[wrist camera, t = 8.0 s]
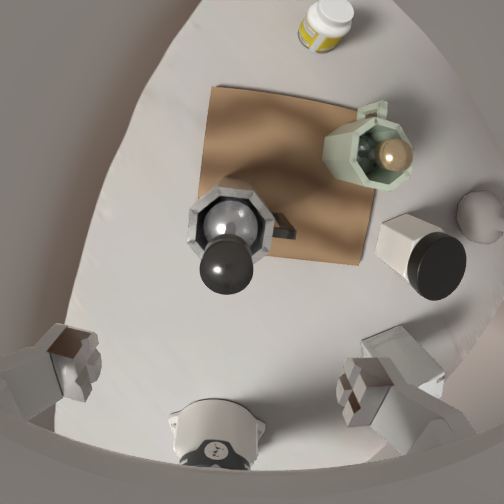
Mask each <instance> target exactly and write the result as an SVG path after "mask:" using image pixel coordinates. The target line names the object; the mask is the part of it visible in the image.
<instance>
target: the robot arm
mask: <svg viewBox="0 0 504 504" xmlns="http://www.w3.org/2000/svg"><path fill="white" fill-rule="evenodd" d="M98 344H99V342H98V337H97V334H96V333H95V332H92V331H87V330H83V329H79V328H75V327H72V326H67V325H63V324H59V323H57V324H54V325H53V326H52V328H50V330H49V331H48V332H47V333H46V334H45V335H44V336H43V337H42V338H41V339H40V341H39V342H38V343H37V344H36V345H35V346H34V347H33V348H32V347H28V348H24V349H22V350H19V351H16V352H13V353H10V354H8V355H5V356H2V357H0V504H504V422H502V423H500V424H498V425H496V426H493V427H491V428H489V429H486V430H483V431H481V432H479V433H476V431H475V430H474V428H473V427H472V425H471V424H470V422H469V421H468V420H467V418H466V417H465V415H464V414H463V413H462V412H461V411H459V410H458V409H455V408H454V407H452V406H450V405H448V404H446V403H445V402H443V401H441V400H439V399H437V398H436V397H434V396H432V395H430V394H428V393H427V392H425V391H423V390H421V389H419V388H418V387H416V386H414V385H412V384H407V382H406V381H405V379H404V378H403V376H402V375H401V373H400V372H399V370H398V369H397V367H396V366H395V364H394V363H393V361H392V360H391V358H389V357H388V356H382V357H372V358H348V359H347V360H346V361H345V363H344V366H343V369H344V371H345V373H344V374H343V375H342V376H341V377H339V380H338V383H337V386H336V397H337V401H338V403H339V404H340V405H341V406H342V407H344V410H343V412H342V414H343V417H344V420H345V422H346V425H347V427H355V426H368V425H370V427H371V428H372V429H373V430H375V431H376V432H377V433H378V434H379V435H380V436H381V437H383V438H384V439H385V440H386V441H387V442H388V443H390V444H391V445H392V446H393V447H394V448H395V449H396V450H398V451H399V452H400V453H401V454H402V455H403V456H399V457H394V458H390V459H384V460H379V461H374V462H368V463H362V464H355V465H348V466H340V467H330V468H320V469H306V470H284V471H251V470H250V467H252V466H253V464H254V460H256V459H257V457H258V441H259V439H260V437H261V436H262V434H263V433H264V431H265V429H266V425H265V423H263V422H261V421H259V420H257V419H255V418H254V417H253V416H252V414H251V413H250V412H249V411H248V410H247V409H245V408H244V407H242V406H240V405H238V404H235V403H233V402H229V401H224V400H202V401H198V402H195V403H192V404H190V405H188V406H187V407H186V408H184V409H183V410H182V411H180V412H177V413H173V414H171V415H169V416H168V422H169V424H170V427H171V429H172V432H173V434H174V445H173V450H174V451H175V452H176V455H177V456H178V458H179V459H180V463H179V464H172V463H166V462H160V461H155V460H149V459H144V458H140V457H135V456H130V455H126V454H122V453H118V452H114V451H110V450H106V449H103V448H99V447H96V446H92V445H89V444H86V443H83V442H80V441H76V440H73V439H71V438H68V437H65V436H62V435H59V434H57V433H54V432H51V431H48V430H46V429H44V428H41V427H39V426H36V425H34V424H32V423H29V422H27V421H28V420H29V419H31V418H33V417H34V416H36V415H37V414H39V413H40V412H42V411H43V410H45V409H47V408H48V407H50V406H51V405H53V404H54V403H56V402H57V401H59V400H60V399H62V398H63V397H67V398H70V399H74V400H77V401H81V402H86V400H87V398H88V396H89V395H90V393H91V391H92V386H91V383H93V382H95V381H97V379H98V377H99V375H100V372H101V367H102V360H101V354H100V353H99V352H98V350H97V349H96V347H97V345H98Z"/></svg>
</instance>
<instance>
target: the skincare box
mask: <svg viewBox="0 0 504 504" xmlns="http://www.w3.org/2000/svg"><path fill="white" fill-rule="evenodd" d="M361 346H362V355H363V358H372V357H382V356H388V357H389V358H391V360H392V361H393V363H394V364H395V366H396V367H397V369H398V370H399V372H400V373H401V375H402V376H403V378H404V379H405V381H406V382H407V384H412V385H414V386H416V387H418V388H419V389H421V390H423V391H425V392H427V393H428V394H430V395H432V396H434V397H436V398H437V399H439V398H441V397H442V393H443V385H444V377H445V371H444V370H443V369H442V368H441V366H440V365H439V364H438V363H437V362H436V361H435V360H434V359H433V358H432V357H431V356H430V355H429V354H428V353H427V352H426V351H425V349H424V348H423V347H422V346H421V345H420V344H419V343H418V342H417V341H416V340H415V339H414V338H413V337H412V336H411V335H410V334H409V333H408V332H407V331H406V330H405V329H404V328H403V327H402V326H401V325H399V326H397V327H395V328H392V329H390V330H388V331H385V332H383V333H380V334H378V335H375V336H373V337H370V338H368V339H365V340H362V341H361Z"/></svg>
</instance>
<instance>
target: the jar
mask: <svg viewBox="0 0 504 504" xmlns="http://www.w3.org/2000/svg"><path fill="white" fill-rule="evenodd" d="M374 253H375V255H376V256H377V257H378V258H380V259H381V260H382V261H383V262H384V263H385V264H386V265H387V266H388V267H389V268H390V269H391V270H392V271H393V272H394V273H395V274H397V275H398V276H399V277H400V278H401V279H403V280H404V281H405V282H406V283H407V284H409V285H410V286H411V287H412V288H413V289H414V290H416V291H417V293H419V294H420V295H421V296H423V297H424V298H426V299H428V300H432V301H436V300H441V299H443V298H445V297H447V296H448V295H450V294H451V293H452V292H453V291H454V290H455V289H456V288H457V286H458V285H459V283H460V282H461V280H462V278H463V275H464V272H465V268H466V253H465V249H464V247H463V245H462V244H461V242H460V241H459V240H457V239H456V238H454V237H451V236H449V235H447V234H445V232H444V231H443V230H442V228H440V227H437V226H435V225H433V224H430V223H428V222H426V221H423V220H421V219H418V218H416V217H414V216H411V215H409V214H404V215H401V216H399V217H396V218H394V219H391V220H389V221H387V222H384V223H382V224H381V228H380V232H379V236H378V240H377V244H376V248H375V252H374Z"/></svg>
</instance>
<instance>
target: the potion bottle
mask: <svg viewBox="0 0 504 504" xmlns="http://www.w3.org/2000/svg"><path fill="white" fill-rule="evenodd" d="M456 220H457V222H458V225H459V227H460V230H462V232H463V234H464V235H465V236H466V237H467V238H468V239H469V240H470V241H473V242H476V243H480V244H491V243H493V242H495V241H496V240H497V239H499V238H500V237H501V236H502V235H503V232H504V207H503V206H502V204H501V203H500V201H499V200H498V199H497V197H496V196H495V195H494V194H492V193H491V192H489V191H479V192H471V193H468V194H465V195H464V196H463V198H462V199H461V201H460V202H459V203H458V206H457V215H456Z"/></svg>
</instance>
